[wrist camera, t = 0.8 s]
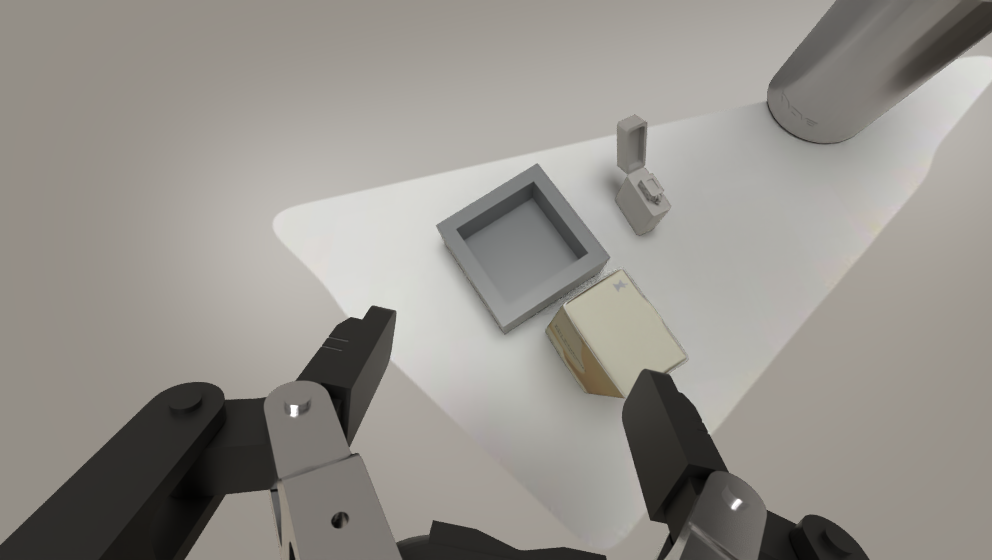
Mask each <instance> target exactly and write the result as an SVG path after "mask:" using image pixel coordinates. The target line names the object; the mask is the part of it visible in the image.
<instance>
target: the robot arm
mask: <svg viewBox="0 0 992 560" xmlns="http://www.w3.org/2000/svg"><path fill="white" fill-rule="evenodd" d="M991 32H992V0H836V1H835V2H834V4H833V5H832V6H831V7H830V9H829V10H828V11H827V12H826V14H825V15H824V16H823V17H822V18H821V20H820V21H819V22H818V23H817V25H816V26H815V27H814V28H813V29H812V31H811V32H810V33H809V34H808V36H807V37H806V38H805V39H804V40H803V42H802V43H801V44H800V45H799V46H798V47H797V49H796V50H795V51H794V52H793V54H792V55H791V56H790V57H789V58H788V60H787V61H786V62H785V63H784V65H783V66H782V67H781V68H780V70H779V71H778V72H777V73H776V75H775V76H774V77H773V79H772V80H771V82H770V84H769V88H768V91H767V101H768V104H769V108H770V110H771V112H772V114H773V116H774V118H775V119H776V120H777V121H778V122H779V124H780V125H781V126H783V127H784V128H785V129H786V130H787V131H789V132H790V133H792V134H794V135H796V136H797V137H799V138H802V139H805V140H808V141H812V142H817V143H835V142H841V141H844V140H846V139H849V138H851V137H853V136H854V135H856V134H857V133H859V132H860V131H861V130H863V129H864V128H865V127H867V126H868V125H869V124H871V123H872V122H873V121H875V120H876V119H877V118H879V117H880V116H881V115H883V114H884V113H885V112H887V111H888V110H889V109H891V108H892V107H893V106H895V105H896V104H897V103H899V102H900V101H901V100H903V99H904V98H905V97H907V96H908V95H909V94H911V93H912V92H913V91H915V90H916V89H917V88H919V87H920V86H921V85H923V84H924V83H925V82H927V81H928V80H929V79H931V78H932V77H933V76H934V75H936V74H937V73H938V72H940V71H941V70H942V69H944V68H945V67H946V66H948V65H949V64H950V63H952V62H953V61H954V60H956V59H957V58H958V57H960V56H961V55H962V54H964V53H965V52H966V51H968V50H969V49H970V48H972V47H973V46H974V45H976V44H977V43H978V42H980V41H981V40H982V39H983V38H985V37H986V36H987V35H989V34H990V33H991ZM395 322H396V311H395V310H391V309H386V308H382V307H378V306H371V307H370V309H369V310H368V312H367V313H366V315H365V316H364V318H363V319H357V318H353V317H350V318H349V319H347V320H345V321H343V322H342V323H340V324H338V325H337V326H336V327H335V329H334V330H333V331H332V333H331V334H330V335H329V338H327V339H326V341H325V342H324V344H323V345H322V347H321V348H320V349H319V350H318V351H317V353H316V354H315V356H314V357H313V358H312V359H311V361H310V362H309V363H308V365H307V366H306V367H305V369H304V370H303V372H302V373H301V374H300V375H299V377H298V378H297V380H296V381H294V382H289V383H286V384H284V385H281V386H279V387H277V388H276V389H274V390H273V391H272V392H271V393H270V394H269V395H268V397H264V398H257V399H234V400H225V398H224V393H223V391H222V390H221V389H220V388H219V387H217V386H216V385H213V384H210V383H205V382H192V383H184V384H180V385H177V386H174V387H171V388H169V389H167V390H165V391H163V392H161V393H160V394H158V395H157V396H155V398H153V399H152V400H151V401H150V402H149V403H148V404H147V405H146V406H145V407H143V408H142V409H141V410H140V412H138V413H137V414H136V415H135V416H134V417H133V418H132V419H131V420H130V421H129V422H128V423H127V424H126V425H125V426H124V427H123V428H122V429H121V430H120V431H119V432H118V433H116V434H115V435H114V436H113V437H112V438H111V439H110V440H109V441H108V442H107V443H106V444H105V445H104V446H103V447H102V448H101V449H100V450H99V451H98V452H97V453H96V454H95V455H94V456H93V457H91V458H90V459H89V460H88V461H87V462H86V463H85V464H84V465H83V466H82V467H81V468H80V469H79V470H78V471H77V472H76V473H75V474H74V475H73V476H72V477H71V478H70V479H69V480H68V481H67V482H66V483H64V484H63V485H62V486H61V487H60V488H59V489H58V490H57V491H56V492H55V493H54V494H53V495H52V496H51V497H50V498H49V499H48V500H47V501H46V502H45V503H44V504H43V505H42V506H41V507H39V508H38V509H37V510H36V511H35V512H34V513H33V514H32V515H31V516H30V517H29V518H28V519H27V520H26V521H25V522H24V523H23V524H22V525H21V526H20V527H19V528H18V529H17V530H16V531H15V532H13V533H12V534H11V535H10V536H9V537H8V538H7V539H6V540H5V541H4V542H3V543H2V544H1V545H0V560H184V559H185V558H186V556H187V555H188V553H189V552H190V550H191V549H192V547H193V545H194V544H195V542H196V541H197V539H198V538H199V536H200V534H201V533H202V531H203V530H204V528H205V526H206V525H207V523H208V522H209V520H210V518H211V517H212V516H213V514H214V512H215V511H216V509H217V508H218V506H219V504H220V503H221V501H222V500H223V498H224V497H225V495H226V494H233V493H242V492H251V491H261V490H268V491H269V497H270V502H271V508H272V513H273V519H274V524H275V529H276V535H277V541H278V545H279V551H280V557H281V560H606V556H605V555H600V554H595V553H591V552H586V551H581V550H576V549H571V548H566V547H560V548H548V549H537V550H525V551H524V550H518V549H515V548H513V547H511V546H509V545H507V544H505V543H503V542H501V541H499V540H497V539H495V538H493V537H491V536H489V535H487V534H485V533H483V532H481V531H479V530H477V529H473V528H468V527H463V526H458V525H453V524H448V523H444V522H439V521H434V520H433V523H432V527H431V530H430V534H429V535H423V536H417V537H412V538H408V539H405V540H403V541H399V542H397V543H396V542H395V540H394V537H393V535H392V533H391V530H390V527H389V525H388V522H387V520H386V517H385V515H384V512H383V510H382V507H381V505H380V502H379V499H378V497H377V495H376V492H375V489H374V487H373V484H372V482H371V479H370V477H369V474H368V472H367V469H366V467H365V464H364V462H363V459H362V458H361V456H360V455H359V454H358V453H355V454H352V453H351V451H350V449H349V447H350V445H351V443H352V441H353V439H354V437H355V434H356V432H357V430H358V428H359V426H360V424H361V421H362V419H363V417H364V415H365V413H366V411H367V409H368V407H369V404H370V402H371V400H372V398H373V396H374V394H375V392H376V390H377V387H378V385H379V383H380V381H381V379H382V377H383V374H384V372H385V370H386V368H387V365H388V362H389V359H390V355H391V350H392V343H393V336H394V329H395ZM622 422H623V426H624V429H625V433H626V436H627V440H628V443H629V447H630V450H631V454H632V458H633V461H634V465H635V468H636V472H637V475H638V479H639V482H640V486H641V489H642V493H643V496H644V500H645V503H646V507H647V510H648V514H649V517H650V520H651V521H656V522H661V523H666V524H667V525H668V528H669V532H668V533H667V535H666V536H665V538H664V540H663V542H662V544H661V546H660V548H659V550H658V553H657V554H656V556H655V559H654V560H869V558H868V557H867V555H866V554H865V552H864V551H863V550H862V548H861V547H860V545H859V544H858V543H857V542H856V541H855V540H854V539H853V538H852V537H851V536H850V535H849V534H848V533H847V532H846V531H845V530H843V529H842V528H841V527H839V526H838V525H836V524H835V523H833V522H832V521H830V520H828V519H826V518H823V517H821V516H818V515H807V516H805V517H804V518H803V519H802V520H801V521H800V522H799V523H798V524H795V523H793V522H791V521H788V520H787V519H785V518H783V517H780V516H778V515H776V514H774V513H772V512H770V511H768V510H766V507H765V505H764V503H763V501H762V499H761V498H760V496H759V495H758V494H757V493H756V491H755V490H754V489H753V488H752V487H751V486H750V485H748V484H747V483H746V482H745V481H743V480H742V479H740V478H738V477H737V476H735V475H733V474H730V473H729V472H728V470H727V468H726V466H725V464H724V462H723V460H722V458H721V456H720V454H719V452H718V450H717V448H716V447H715V445H714V443H713V441H712V439H711V437H710V435H709V434H708V431H707V429H706V427H705V425H704V423H702V419H701V417H700V415H699V413H698V411H697V410H696V408H695V406H694V405H693V404H692V403H691V402H690V401H689V400H688V398H687V397H686V396H685V395H684V394H683V393H680V392H678V390H677V388H676V386H675V384H674V382H673V380H672V378H671V376H670V375H669V374H667V373H663V372H658V371H654V370H649V369H643V370H642V371H641V372H640V374H639V376H638V378H637V380H636V382H635V384H634V385H633V387H632V389H631V391H630V393H629V395H628V397H627V399H626V401H625V403H624V406H623V411H622Z"/></svg>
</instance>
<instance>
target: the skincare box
mask: <svg viewBox="0 0 992 560" xmlns="http://www.w3.org/2000/svg"><path fill="white" fill-rule="evenodd" d="M546 333H547V335H548V337H549V339H550V340H551V342H552V344H553V345H554V347H555V349H556V350H557V352H558V353H559V355H560V357H561V358H562V360H563V361H564V363H565V365H566V366H567V367H568V369H569V370H570V372H571V373H572V375H573V376H574V378H575V379H576V381H577V382H578V384H579V385H580V386H581V388H582V389H583V391H584V392H585V393H591V394H597V395H605V396H612V397H619V398H627V397H628V395H629V393H630V391H631V389H632V387H633V385H634V384H635V382H636V380H637V378H638V376H639V374H640V372H641V371H642V370H643V369H649V370H654V371H658V372H663V373H667V374H669V373H670V372H672V371H673V370H675V369H676V368H678V367H679V366H681V365H682V364H684V363H685V362H687V361H688V355H687V353H686V352H685V351H684V349H683V348H682V346H681V345H680V344H679V342H678V341H677V339H676V338H675V337H674V335H673V334H672V333H671V331H670V330H669V328H668V327H667V326H666V324H665V323H664V321H663V320H662V318H661V317H660V316H659V314H658V313H657V311H656V310H655V309H654V307H653V306H652V305H651V304H650V302H649V301H648V300H647V299H646V297H645V296H644V294H643V293H642V292H641V290H640V289H639V288H638V286H637V285H636V283H635V282H634V281H633V279H632V278H631V277H630V275H629V274H628V273H627V271H626V270H625V269H624V268H623V267H621V268H619V269H618V270H616V271H614V272H613V273H611V274H609V275H607V276H606V277H604V278H602V279H601V280H599V281H597V282H596V283H594V284H592V285H591V286H589V287H588V288H586V289H584V290H583V291H581V292H580V293H578V294H577V295H575V296H574V297H572V298H571V299H570V300H568V301H567V302H565V303H564V304H563V305H562V307H561V308H560V310H559V311H558V312H557V314H556V315H555V317H554V318H553V320H552V321H551V323H550V324H549V325H548V327H547V329H546Z"/></svg>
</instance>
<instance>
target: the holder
mask: <svg viewBox="0 0 992 560" xmlns="http://www.w3.org/2000/svg"><path fill="white" fill-rule="evenodd" d="M436 227H437V229H438V231H439V233H440V235H441V237H442V239H443V241H444V243H445V244H446V246H447V247H448V249H449V250H450V252H451V253H452V255H453V256H454V258H455V259H456V261H457V262H458V264H459V266H460V267H461V269H462V270H463V272H464V273H465V275H466V276H467V278H468V279H469V281H470V282H471V284H472V285H473V287H474V288H475V290H476V291H477V293H478V295H479V296H480V298H481V299H482V301H483V302H484V304H485V305H486V307H487V308H488V310H489V311H490V313H491V314H492V316H493V317H494V319H495V321H496V322H497V324H498V325H499V327H500V328H501V330H502V331H503V333H504V334H506V333H507V332H509V331H511V330H512V329H514V328H515V327H517V326H518V325H520V324H521V323H523V322H524V321H526V320H527V319H529V318H530V317H532V316H533V315H535V314H536V313H538V312H539V311H541V310H543V309H544V308H546V307H547V306H549V305H550V304H552V303H553V302H555V301H556V300H558V299H559V298H561V297H562V296H564V295H565V294H567V293H568V292H570V291H571V290H573V289H575V288H576V287H578V286H579V285H581V284H582V283H584V282H585V281H587V280H588V279H590V278H591V277H593V276H594V275H596V274H597V273H599V272H600V271H601V270H602V268H603V267H604V266H605V264H606V263H607V261H608V260H609V258H610V256H609V255H608V254H607V252H606V251H605V250H604V248H603V247H602V246H601V244H600V243H599V242H598V241H597V239H596V238H595V237H594V235H593V234H592V233H591V232H590V230H589V229H588V228H587V226H586V225H585V224H584V223H583V221H582V220H581V219H580V217H579V216H578V215H577V214H576V212H575V211H574V210H573V208H572V207H571V206H570V205H569V203H568V202H567V201H566V199H565V198H564V197H563V195H562V194H561V193H560V192H559V190H558V189H557V188H556V186H555V185H554V184H553V183H552V181H551V180H550V179H549V177H548V176H547V175H546V174H545V172H544V171H543V170H542V168H541V167H540V166H539V165H538V163H537V164H535V165H534V166H532V167H531V168H529V169H527V170H526V171H524V172H522V173H521V174H519V175H517V176H516V177H514V178H513V179H511V180H509V181H508V182H506V183H504V184H503V185H501V186H499V187H498V188H496V189H495V190H493V191H491V192H490V193H488V194H486V195H485V196H483V197H481V198H480V199H478V200H477V201H475V202H473V203H472V204H470V205H468V206H467V207H465V208H463V209H462V210H460V211H459V212H457V213H455V214H454V215H452V216H450V217H449V218H447V219H445V220H444V221H442V222H441V223H439V224H437V225H436Z"/></svg>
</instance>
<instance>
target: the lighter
mask: <svg viewBox="0 0 992 560" xmlns="http://www.w3.org/2000/svg"><path fill="white" fill-rule="evenodd" d="M646 138H647V122H645V121H644V120H643V119H641V118H640V117H638V116H636V115H633V116H631V117H628V118H626V119H624V120H622V121H620V122H618V124H617V166H618V167H619V168H621V169H622V170H623V171H624V172H625V173H626V174H628V175H627V177H626V179H625V181H624V183H623V185H622V187H621V189H620V191H619V193H618V195H617V197H616V199H615V201H616V203H617V204H618V206H619V207H620V209H621V211H622V212H623V214H624V215H625V217H626V219H627V220H628V222H629V223H630V225H631V227H632V228H633V230H634V231H635V233H636V235H639V236H640V235H642V234H644V233H646V232H648V231H650V230H652V229H654V227H655V226H656V225H657V224H658V223H659V221H660V220H661V219H662V218H663V217H664V216H665V214H666V213H667V212H668V211H669V210H670V208H671V205H670V203H669V202H668V200H667V199H666V197H665V196H664V194H663V191H664V189H663V188H662V186H661V185H660V183H659V182H658V180H657V179H656V177H655V176H654V174H653V173H651V174H650V173H649V172H648V170H647V169H646V168H644V166H645V157H646Z"/></svg>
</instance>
